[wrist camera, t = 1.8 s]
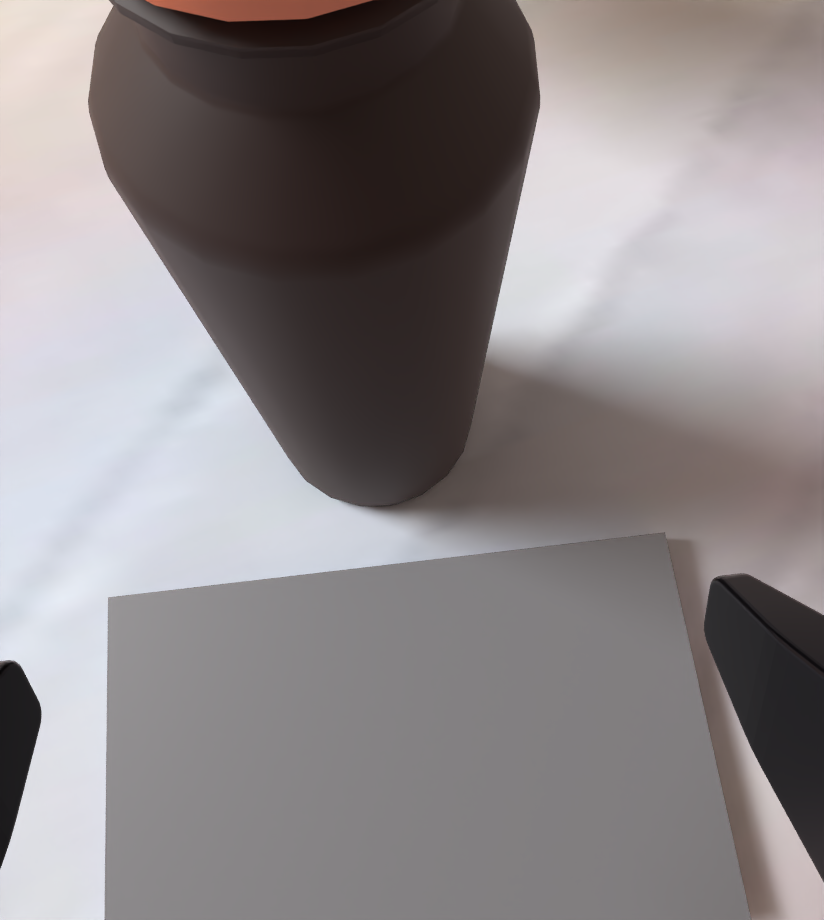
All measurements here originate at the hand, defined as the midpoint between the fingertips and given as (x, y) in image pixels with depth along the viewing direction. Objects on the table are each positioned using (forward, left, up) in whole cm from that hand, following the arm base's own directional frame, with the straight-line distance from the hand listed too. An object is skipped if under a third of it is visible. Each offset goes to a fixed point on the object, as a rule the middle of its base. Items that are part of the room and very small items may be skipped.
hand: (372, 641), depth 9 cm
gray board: (-1, +2, -14) cm, 14 cm away
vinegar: (+5, -7, -14) cm, 16 cm away
